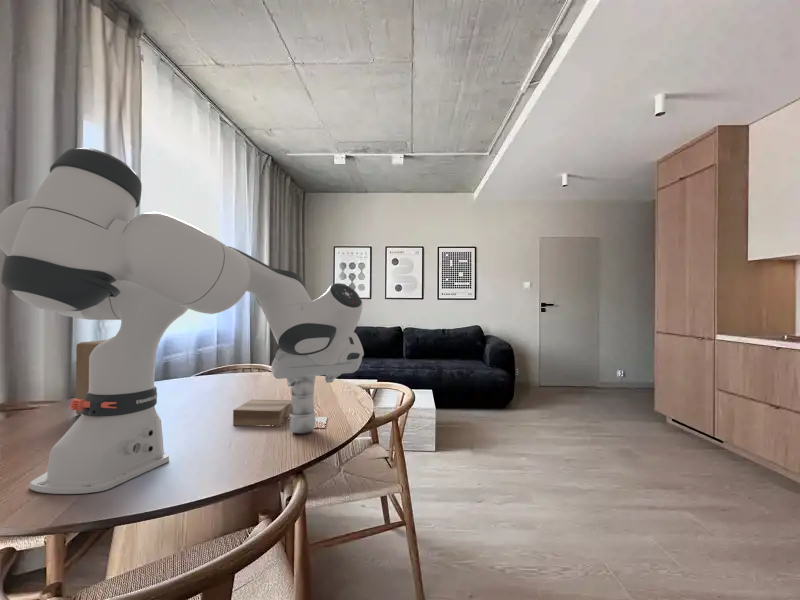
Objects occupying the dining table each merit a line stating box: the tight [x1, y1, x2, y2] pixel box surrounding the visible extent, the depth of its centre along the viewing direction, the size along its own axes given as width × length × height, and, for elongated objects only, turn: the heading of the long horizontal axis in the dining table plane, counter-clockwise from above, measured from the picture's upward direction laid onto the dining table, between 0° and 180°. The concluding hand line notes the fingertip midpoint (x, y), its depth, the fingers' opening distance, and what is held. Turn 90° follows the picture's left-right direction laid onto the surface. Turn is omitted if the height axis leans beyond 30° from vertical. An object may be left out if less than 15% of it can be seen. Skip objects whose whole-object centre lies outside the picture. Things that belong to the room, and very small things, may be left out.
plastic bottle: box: [288, 376, 317, 434], centre depth 109 cm, size 6×7×20 cm
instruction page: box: [315, 416, 328, 428], centre depth 116 cm, size 10×8×1 cm
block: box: [75, 339, 107, 416], centre depth 125 cm, size 10×10×20 cm
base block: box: [232, 399, 292, 427], centre depth 119 cm, size 12×12×4 cm
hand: (309, 382), depth 107 cm, fingers open, 8 cm apart
